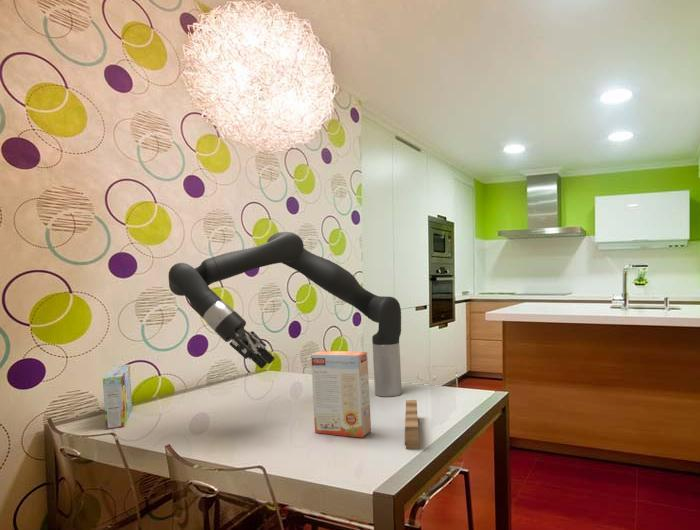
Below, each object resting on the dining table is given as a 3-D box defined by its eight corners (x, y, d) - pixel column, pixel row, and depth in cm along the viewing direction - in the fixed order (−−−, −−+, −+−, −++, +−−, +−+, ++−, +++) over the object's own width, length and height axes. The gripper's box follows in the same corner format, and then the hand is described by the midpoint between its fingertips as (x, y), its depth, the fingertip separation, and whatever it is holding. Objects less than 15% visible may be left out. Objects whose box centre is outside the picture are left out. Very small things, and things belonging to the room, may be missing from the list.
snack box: (114, 411, 155) (112, 365, 156) (132, 409, 157) (131, 363, 158) (103, 430, 135) (101, 377, 136) (125, 427, 137) (123, 375, 138)
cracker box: (372, 431, 123) (368, 350, 124) (362, 439, 118) (358, 354, 118) (325, 426, 129) (321, 349, 130) (313, 433, 124) (310, 353, 124)
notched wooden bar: (405, 417, 133) (404, 400, 133) (417, 417, 133) (416, 399, 133) (404, 448, 109) (403, 427, 110) (419, 448, 109) (418, 427, 109)
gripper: (223, 312, 121) (270, 358, 119) (242, 308, 135) (285, 349, 133) (204, 334, 121) (250, 379, 119) (225, 327, 135) (267, 368, 134)
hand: (268, 363), depth 126 cm, fingers open, 6 cm apart
